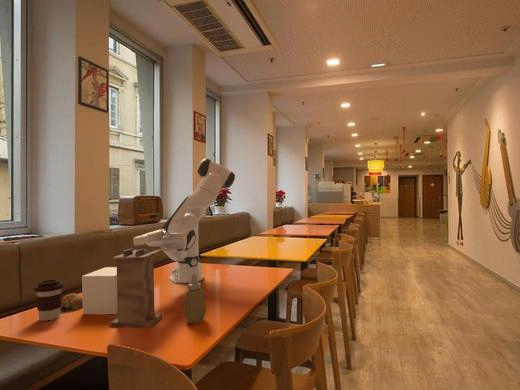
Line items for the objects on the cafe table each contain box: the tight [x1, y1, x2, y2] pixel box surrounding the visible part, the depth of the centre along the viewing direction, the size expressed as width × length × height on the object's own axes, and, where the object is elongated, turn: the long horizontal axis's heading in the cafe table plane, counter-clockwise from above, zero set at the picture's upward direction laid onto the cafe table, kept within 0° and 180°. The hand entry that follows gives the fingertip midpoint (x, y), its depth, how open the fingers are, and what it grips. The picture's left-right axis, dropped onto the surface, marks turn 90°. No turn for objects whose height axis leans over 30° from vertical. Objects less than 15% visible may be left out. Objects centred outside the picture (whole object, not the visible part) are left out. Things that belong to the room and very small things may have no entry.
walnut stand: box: [109, 248, 163, 328], centre depth 136 cm, size 18×16×28 cm
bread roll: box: [60, 292, 83, 312], centre depth 153 cm, size 10×10×8 cm
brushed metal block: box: [132, 228, 166, 246], centre depth 149 cm, size 26×3×3 cm, turn 174°
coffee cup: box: [33, 279, 64, 322], centre depth 140 cm, size 10×10×15 cm
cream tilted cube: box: [81, 266, 118, 315], centre depth 152 cm, size 18×14×16 cm
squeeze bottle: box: [183, 274, 207, 325], centre depth 132 cm, size 8×8×18 cm
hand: (159, 232), depth 158 cm, fingers closed on brushed metal block, 3 cm apart
